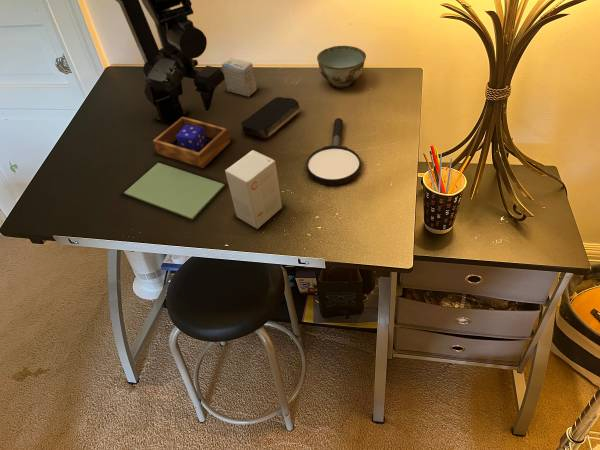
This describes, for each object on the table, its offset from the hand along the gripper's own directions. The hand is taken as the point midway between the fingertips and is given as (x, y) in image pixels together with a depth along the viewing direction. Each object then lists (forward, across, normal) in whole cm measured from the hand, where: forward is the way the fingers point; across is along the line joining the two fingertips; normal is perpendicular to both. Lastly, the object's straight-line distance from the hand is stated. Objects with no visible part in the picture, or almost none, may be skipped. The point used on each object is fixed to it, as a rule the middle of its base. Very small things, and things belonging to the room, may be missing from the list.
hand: (192, 105), depth 109 cm
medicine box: (+12, -5, +27) cm, 30 cm away
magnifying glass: (+12, +32, +10) cm, 36 cm away
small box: (+12, +26, -15) cm, 32 cm away
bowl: (+12, +20, +41) cm, 47 cm away
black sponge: (+12, +12, +15) cm, 23 cm away
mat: (+12, +4, -17) cm, 21 cm away
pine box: (+12, -2, -2) cm, 12 cm away
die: (+12, -2, -2) cm, 12 cm away
